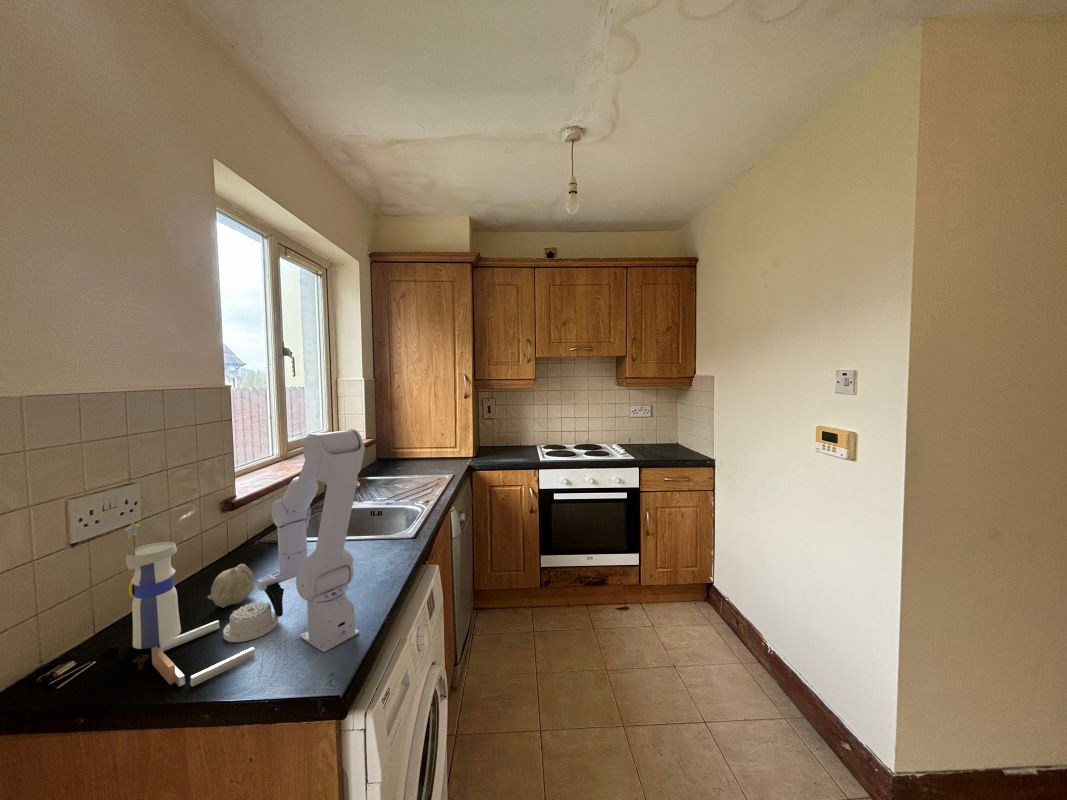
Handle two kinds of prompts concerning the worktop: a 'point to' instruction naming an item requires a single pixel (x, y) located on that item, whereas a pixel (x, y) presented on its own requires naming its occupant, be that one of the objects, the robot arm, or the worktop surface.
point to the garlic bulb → (232, 586)
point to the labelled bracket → (176, 675)
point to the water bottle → (153, 593)
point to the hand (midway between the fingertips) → (295, 607)
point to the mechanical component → (250, 622)
